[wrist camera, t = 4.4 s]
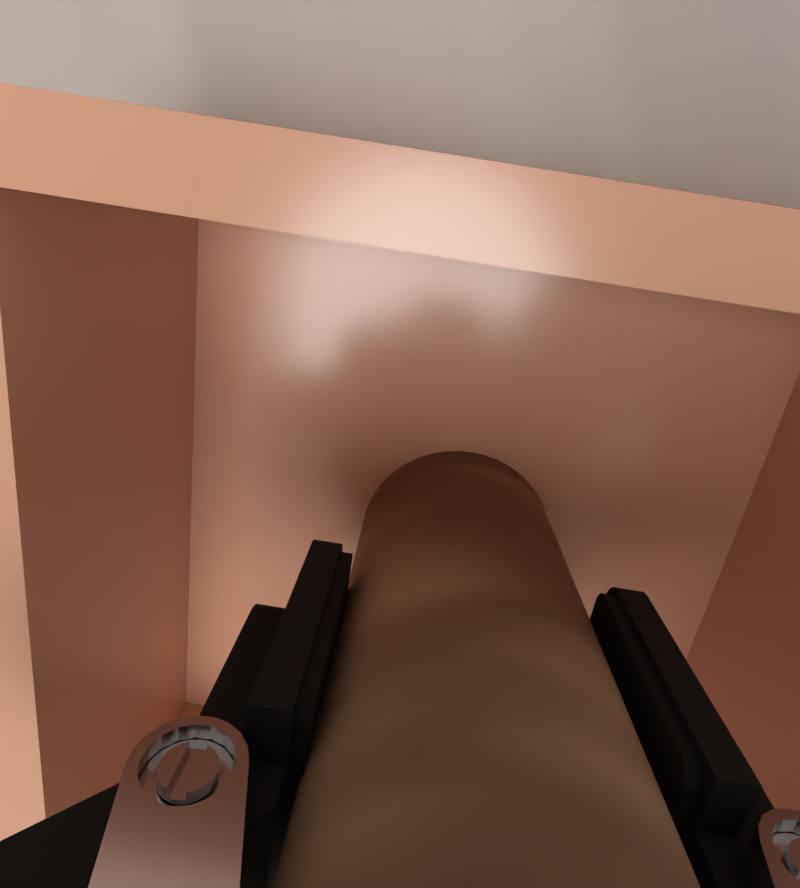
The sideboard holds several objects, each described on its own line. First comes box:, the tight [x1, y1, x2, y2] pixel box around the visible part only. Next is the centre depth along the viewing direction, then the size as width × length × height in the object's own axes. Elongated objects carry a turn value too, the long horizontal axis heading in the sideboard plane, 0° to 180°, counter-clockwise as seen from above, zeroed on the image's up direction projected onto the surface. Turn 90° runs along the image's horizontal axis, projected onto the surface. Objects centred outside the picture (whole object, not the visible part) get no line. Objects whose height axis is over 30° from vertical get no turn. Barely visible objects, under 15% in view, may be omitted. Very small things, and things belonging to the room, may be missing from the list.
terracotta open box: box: [0, 83, 800, 841], centre depth 11 cm, size 15×15×6 cm
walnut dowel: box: [272, 451, 700, 888], centre depth 9 cm, size 4×4×11 cm
